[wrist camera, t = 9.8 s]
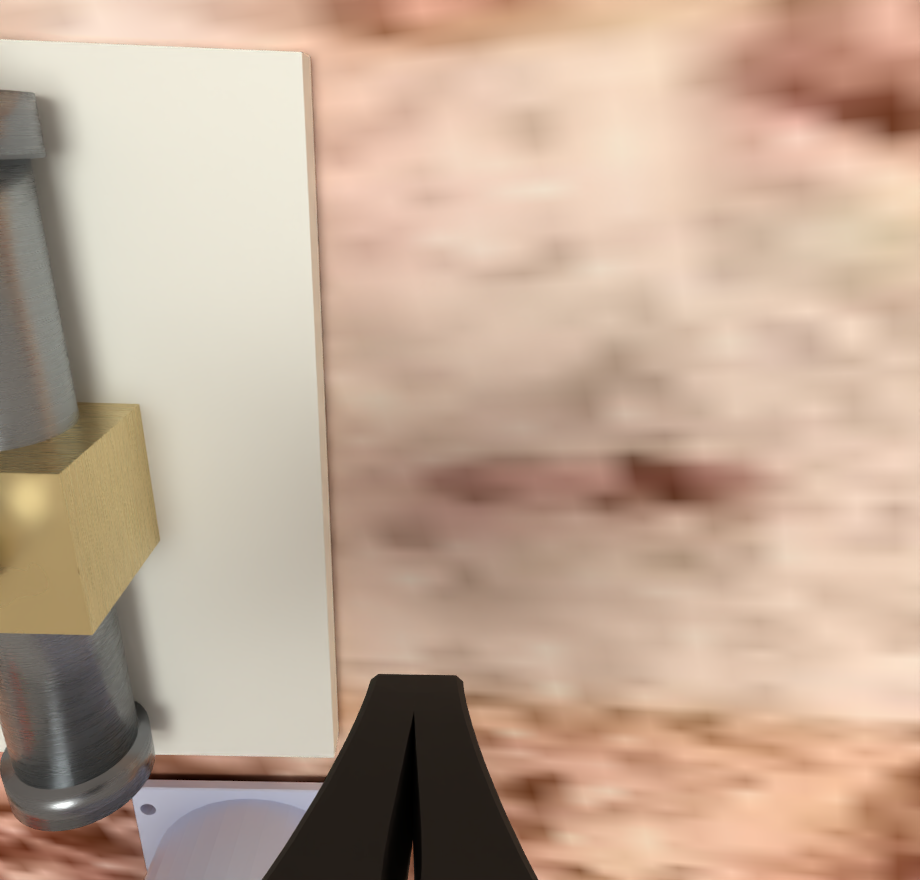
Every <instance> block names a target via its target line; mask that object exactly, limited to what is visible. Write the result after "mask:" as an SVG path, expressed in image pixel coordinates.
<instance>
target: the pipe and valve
mask: <svg viewBox="0 0 920 880" xmlns="http://www.w3.org/2000/svg"><path fill="white" fill-rule="evenodd" d="M43 157H46V152H45V146H44V141H43V135H42V130H41V124H40V119H39V113H38V108H37V102H36V97H35V93H33V92H24V91H13V90H0V726H1V729H2V732H3V736H4V739H5V743H6V746H7V747H6V748H5V750H4V753H3V755H2V758H1V762H0V774H1V778H2V781H3V784H4V787H5V791H6V794H7V797H8V801H9V804H10V807H11V810H12V812H13V814H14V815H15V817H16V818H17V819H18V820H19V821H20V822H21V823H23V824H25V825H26V826H28V827H31V828H33V829H38V830H42V831H63V830H70V829H75V828H79V827H82V826H85V825H88V824H91V823H93V822H96V821H98V820H100V819H102V818H104V817H106V816H108V815H110V814H112V813H113V812H115V811H116V810H118V809H119V808H121V807H122V806H123V805H124V804H126V803H127V802H128V801H129V800H130V799H131V798H133V797H134V796H135V795H136V794H137V792H138V791H139V790H140V789H141V788H142V786H143V785H144V784H145V782H146V781H147V779H148V777H149V775H150V774H151V771H152V769H153V765H154V761H155V750H154V744H153V738H152V733H151V727H150V722H149V717H148V714H147V712H146V710H145V709H144V707H143V706H142V705H141V704H140V703H138V702H137V701H134V698H133V693H132V688H131V682H130V677H129V672H128V667H127V661H126V656H125V651H124V646H123V640H122V635H121V630H120V625H119V620H118V614H117V609H116V604H115V603H116V602H117V600H118V599H119V597H120V596H121V595H122V593H123V592H124V590H125V589H126V588H127V586H128V585H129V583H130V582H131V581H132V579H133V578H134V576H135V575H136V574H137V572H138V571H139V569H140V568H141V566H142V565H143V564H144V562H145V561H146V559H147V558H148V557H149V555H150V554H151V552H152V551H153V550H154V548H155V547H156V545H157V544H158V543H159V541H160V536H159V529H158V523H157V516H156V510H155V503H154V497H153V490H152V484H151V477H150V471H149V464H148V458H147V451H146V445H145V438H144V432H143V425H142V419H141V412H140V406H139V404H121V403H88V402H77V400H76V394H75V389H74V384H73V379H72V373H71V368H70V363H69V358H68V353H67V347H66V342H65V337H64V332H63V326H62V321H61V316H60V311H59V305H58V300H57V295H56V290H55V284H54V279H53V274H52V269H51V263H50V258H49V253H48V248H47V243H46V237H45V232H44V227H43V222H42V216H41V211H40V206H39V201H38V195H37V190H36V185H35V180H34V174H33V169H32V164H31V159H32V158H43Z"/></svg>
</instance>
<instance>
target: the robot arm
mask: <svg viewBox="0 0 920 880" xmlns="http://www.w3.org/2000/svg"><path fill="white" fill-rule="evenodd" d="M132 801H133V806H134V811H135V816H136V821H137V825H138V830H139V835H140V840H141V845H142V850H143V854H144V859H145V864H146V869H147V874H146V877H145V879H144V880H407V879H408V872H409V865H410V857H411V850H412V842H413V854H414V880H538V879H537V877H536V875H535V873H534V871H533V869H532V867H531V865H530V863H529V861H528V859H527V857H526V855H525V853H524V851H523V849H522V847H521V845H520V843H519V841H518V839H517V837H516V834H515V832H514V830H513V828H512V826H511V824H510V822H509V820H508V817H507V815H506V813H505V811H504V808H503V806H502V804H501V802H500V799H499V797H498V794H497V792H496V789H495V787H494V784H493V782H492V779H491V777H490V774H489V772H488V769H487V767H486V764H485V762H484V759H483V756H482V753H481V751H480V748H479V745H478V742H477V739H476V735H475V732H474V729H473V726H472V723H471V719H470V715H469V712H468V708H467V703H466V698H465V693H464V687H463V681H462V680H461V679H460V678H458V677H457V676H455V675H399V674H378V675H376V676H375V677H374V678H373V679H371V681H370V684H369V688H368V691H367V693H366V696H365V699H364V701H363V704H362V706H361V709H360V711H359V713H358V716H357V718H356V720H355V722H354V724H353V727H352V729H351V731H350V733H349V735H348V737H347V739H346V741H345V743H344V745H343V747H342V749H341V751H340V753H339V755H338V756H337V758H336V760H335V762H334V764H333V766H332V768H331V769H330V771H329V773H328V775H327V777H326V779H325V781H324V782H323V783H318V782H262V781H205V780H147V781H146V782H145V784H144V785H143V786H142V788H141V789H140V790H139V791H138V792H137V794H136V795H135V796H134V797H133V798H132Z"/></svg>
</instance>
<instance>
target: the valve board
mask: <svg viewBox="0 0 920 880" xmlns="http://www.w3.org/2000/svg"><path fill="white" fill-rule="evenodd" d="M0 90H13V91H24V92H33V93H35V97H36V102H37V108H38V113H39V119H40V124H41V130H42V135H43V141H44V146H45V152H46V157H43V158H32V159H31V164H32V169H33V174H34V180H35V185H36V190H37V195H38V201H39V206H40V211H41V216H42V222H43V227H44V232H45V237H46V243H47V248H48V253H49V258H50V263H51V269H52V274H53V279H54V284H55V290H56V295H57V300H58V305H59V311H60V316H61V321H62V326H63V332H64V337H65V342H66V347H67V353H68V358H69V363H70V368H71V373H72V379H73V384H74V389H75V394H76V400H77V402H88V403H121V404H139V406H140V412H141V419H142V425H143V432H144V438H145V445H146V451H147V458H148V464H149V471H150V477H151V484H152V490H153V497H154V503H155V510H156V516H157V523H158V529H159V536H160V541H159V543H158V544H157V545H156V547H155V548H154V550H153V551H152V552H151V554H150V555H149V557H148V558H147V559H146V561H145V562H144V564H143V565H142V566H141V568H140V569H139V571H138V572H137V574H136V575H135V576H134V578H133V579H132V581H131V582H130V583H129V585H128V586H127V588H126V589H125V590H124V592H123V593H122V595H121V596H120V597H119V599H118V600H117V602H116V603H115V604H116V609H117V614H118V620H119V625H120V630H121V635H122V640H123V646H124V651H125V656H126V661H127V667H128V672H129V677H130V682H131V688H132V693H133V698H134V701H137V702H138V703H140V704H141V705H142V706H143V707H144V709H145V710H146V712H147V714H148V717H149V722H150V727H151V733H152V738H153V744H154V750H155V754H158V755H212V756H265V757H319V758H334V757H335V752H336V746H337V741H338V736H339V724H338V700H337V676H336V653H335V629H334V605H333V581H332V557H331V533H330V510H329V486H328V462H327V438H326V414H325V390H324V367H323V343H322V319H321V295H320V271H319V247H318V224H317V200H316V176H315V152H314V128H313V104H312V81H311V57H310V56H308V55H306V54H304V53H303V52H288V51H265V50H241V49H218V48H194V47H171V46H147V45H124V44H100V43H77V42H53V41H30V40H6V39H0ZM6 747H7V746H6V743H5V739H4V736H3V732H2V729H1V726H0V752H4V750H5V748H6Z"/></svg>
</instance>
